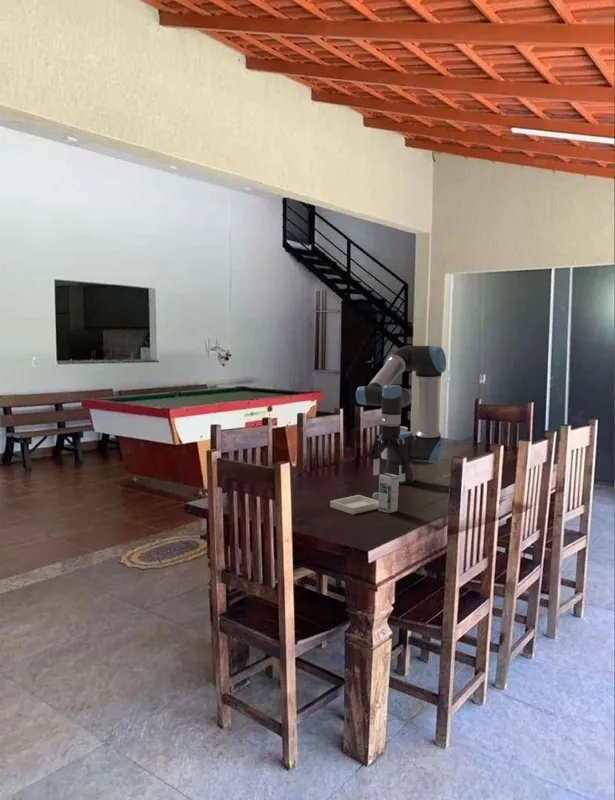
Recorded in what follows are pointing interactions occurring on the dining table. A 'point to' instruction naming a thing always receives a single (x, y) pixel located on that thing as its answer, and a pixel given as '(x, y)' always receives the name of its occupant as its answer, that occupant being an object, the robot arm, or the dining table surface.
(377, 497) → the ball
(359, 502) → the tray
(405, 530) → the dining table surface
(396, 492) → the syrup box
